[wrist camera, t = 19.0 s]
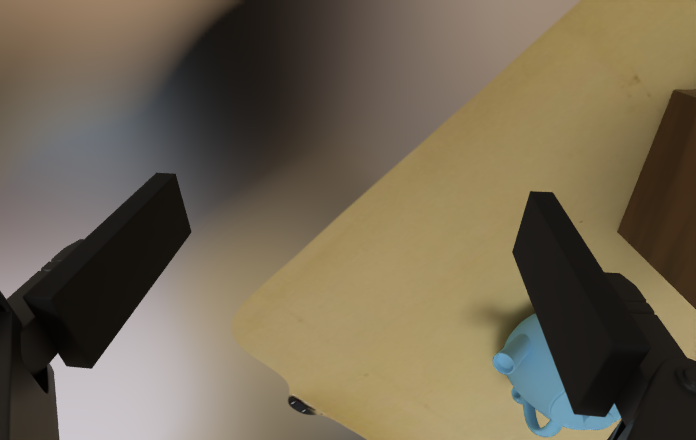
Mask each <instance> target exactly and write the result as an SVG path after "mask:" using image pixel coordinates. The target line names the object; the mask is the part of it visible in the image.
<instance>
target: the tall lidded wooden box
mask: <svg viewBox="0 0 696 440" xmlns="http://www.w3.org/2000/svg"><path fill="white" fill-rule="evenodd" d="M618 233H619V234H620V235H621V236H622V237H623V238H624V239H625V240H626V241H627V242H628V243H629V244H630V245H631V246H632V247H633V248H634V249H635V250H636V251H637V252H638V253H639V254H640V255H641V256H642V257H643V258H644V259H645V260H646V261H647V262H648V263H649V264H650V265H651V266H652V267H653V268H654V269H656V270H657V271H658V272H659V273H660V274H661V275H662V276H663V277H664V278H665V279H666V280H667V281H668V282H669V283H670V284H671V285H672V286H673V287H674V288H675V289H676V290H677V291H678V292H679V293H680V294H681V295H682V296H683V297H684V298H685V299H686V300H687V301H688V302H689V303H690V304H691V305H692V306H693V307H694V308H695V309H696V90H674V91H673V94H672V96H671V99H670V101H669V104H668V106H667V109H666V111H665V114H664V116H663V119H662V121H661V124H660V126H659V129H658V131H657V134H656V136H655V139H654V141H653V144H652V146H651V149H650V151H649V154H648V156H647V159H646V161H645V164H644V166H643V169H642V171H641V174H640V177H639V179H638V182H637V184H636V187H635V189H634V192H633V194H632V197H631V199H630V202H629V204H628V207H627V209H626V212H625V214H624V217H623V219H622V222H621V224H620V227H619V229H618Z"/></svg>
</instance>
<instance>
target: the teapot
mask: <svg viewBox="0 0 696 440" xmlns="http://www.w3.org/2000/svg"><path fill="white" fill-rule="evenodd" d="M493 365H494V367H495V368H496V369H497V371H499V372H500V373H502V374H506V375H507V377H508V378H509V380H510V382H511V383H512V385H513V386H514V387H513V389H512V397H513V399H514V400H515V401H516V402H517V403H519V404H523V409H524V416H525V420H526V423H527V425H528V427H529V429H530V430H531V431H532V432H533V433H535V434H536V435H538V436H541V437H551V436H554V435H556V434H557V433H558V432H559V431H560V430H561V428H562V426H563V427H566V428H570V429H576V430H589V429H591V430H600V429H604V428H607V427H609V426H610V425H611V424H612V423H614V422H616V421H617V420H619V419H621V416H620V414H619V412H618V410H617V408H616V406H615V404H614V405H613V407H612V408H611V410H610V411H609V413H608V414H607V416H606V417H596V416H586V415H575V414H574V413H573V411H572V408H571V405H570V403H569V400H568V397H567V395H566V392H565V389H564V387H563V384H562V382H561V379H560V376H559V374H558V371H557V368H556V366H555V363H554V361H553V358H552V355H551V353H550V350H549V347H548V345H547V342H546V339H545V337H544V334H543V332H542V329H541V326H540V324H539V321H538V318H537V316H536V313H535V314H533V315H531V316H529V317H527V318H526V319H525V320H523V321H522V322H521V323H520V324H519V325H518V326H517V327H516V328H515V329H514V330H513V332H512V333H511V334H510V336H509V337H508V339H507V341H506V343H505V345H504V348H503V349H501V350H500V351H499V352H498V353H497V354H496V355H495V356H494V357H493ZM535 409H536V410H538V411H539V412H540V413H542V414H543V415H544V416H546V417H547V418H548V419H550V421H549V422H548V424H547V425H546V426H544V427H543V428H540V427H539V424H538V422H537V418H536V412H535Z"/></svg>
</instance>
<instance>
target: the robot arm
mask: <svg viewBox="0 0 696 440" xmlns="http://www.w3.org/2000/svg"><path fill="white" fill-rule="evenodd" d="M190 233H191V229H190V225H189V221H188V218H187V214H186V210H185V207H184V203H183V199H182V196H181V192H180V188H179V185H178V181H177V177H176V174H169V173H156V174H155V175H154V176H153V177H152V178H150V179H149V180H148V181H147V182H146V183H145V184H144V185H143V186H142V187H141V188H140V189H139V190H137V191H136V192H135V193H134V194H133V195H132V196H131V197H130V198H129V199H128V200H127V201H125V202H124V203H123V204H122V205H121V206H120V207H119V208H118V209H117V210H116V211H115V212H114V213H112V214H111V215H110V216H109V217H108V218H107V219H106V220H105V221H104V222H103V223H102V224H101V225H99V226H98V227H97V228H96V229H95V230H94V231H93V232H92V233H91V234H90V235H89V236H87V237H86V238H85V239H80V240H78V241H76V242H75V243H73V244H71V245H69V246H67V247H66V248H64V249H63V250H61V251H60V252H59V253H58V254H57V255H56V256H55V257H54V258H53V259H52V260H51V262H48V263H47V264H46V265H45V266H44V267H42V268H41V271H38V272H37V273H36V274H35V275H34V276H32V277H31V278H30V279H29V280H28V281H27V282H26V283H25V284H23V285H22V286H21V287H20V288H19V289H18V290H17V291H16V292H14V293H13V294H12V295H11V296H10V297H9V298H8V299H7V300H6V298H5V297H4V295H3V294H2V293H1V291H0V440H59V430H58V418H57V406H56V393H55V381H54V371H53V369H52V367H51V365H50V364H49V363H50V362H51V360H52V359H53V358H54V357H55V356H56V355H57V353H58V354H59V355H60V357H61V358H62V360H63V361H64V363H65V365H66V366H70V367H80V368H90V369H91V368H93V366H94V365H95V363H96V362H97V361H98V359H99V358H100V357H101V355H102V354H103V353H104V351H105V350H106V348H107V347H108V346H109V344H110V343H111V342H112V340H113V339H114V338H115V336H116V335H117V333H118V332H119V331H120V329H121V328H122V326H123V325H124V324H125V322H126V321H127V320H128V318H129V317H130V316H131V314H132V313H133V312H134V310H135V309H136V307H137V306H138V305H139V303H140V302H141V300H142V299H143V298H144V297H145V295H146V294H147V292H148V291H149V290H150V288H151V287H152V285H153V284H154V283H155V281H156V280H157V279H158V277H159V276H160V275H161V273H162V272H163V271H164V269H165V268H166V266H167V265H168V264H169V262H170V261H171V260H172V258H173V257H174V256H175V254H176V253H177V251H178V250H179V249H180V247H181V246H182V245H183V243H184V242H185V240H186V239H187V238H188V236H189V235H190ZM512 253H513V255H514V258H515V261H516V263H517V266H518V268H519V271H520V274H521V276H522V279H523V282H524V284H525V287H526V289H527V292H528V295H529V297H530V300H531V303H532V305H533V308H534V311H535V313H536V316H537V318H538V321H539V324H540V326H541V329H542V332H543V334H544V337H545V339H546V342H547V345H548V347H549V350H550V353H551V355H552V358H553V361H554V363H555V366H556V368H557V371H558V374H559V376H560V379H561V382H562V384H563V387H564V389H565V392H566V395H567V397H568V400H569V403H570V405H571V408H572V411H573V413H574V414H575V415H586V416H596V417H606V416H607V414H608V413H609V411H610V410H611V408H612V407H613V405H614V404H615V406H616V408H617V410H618V412H619V414H620V416H621V418H622V420H621V421H620V422H619V424H618V425H617V427H616V428H615V430H614V431H613V432H612V434H611V435H610V437H609V438H608V439H607V440H696V361H694V360H692V359H689V358H687V357H686V356H685V354H684V353H683V351H682V350H681V349H680V347H679V346H678V344H677V343H676V342H675V340H674V339H673V337H672V336H671V335H670V333H669V332H668V330H667V329H666V327H665V326H664V325H663V323H662V322H661V320H660V319H659V318H658V316H657V315H655V314H654V311H653V309H652V308H651V306H650V305H649V304H648V303H646V299H645V298H644V297H643V295H642V294H641V292H640V291H639V289H638V288H637V287H636V286H635V285H634V284H633V283H631V282H630V281H629V280H628V279H626V278H625V277H624V276H623V275H621V274H620V273H606V272H603V270H602V268H601V267H600V265H599V264H598V262H597V261H596V259H595V258H594V256H593V254H592V253H591V251H590V250H589V248H588V247H587V245H586V243H585V242H584V240H583V239H582V237H581V236H580V234H579V233H578V231H577V229H576V228H575V226H574V225H573V223H572V222H571V220H570V219H569V217H568V215H567V214H566V212H565V211H564V209H563V208H562V206H561V204H560V203H559V201H558V200H557V198H556V197H555V195H554V194H553V192H533V191H530V194H529V198H528V201H527V204H526V208H525V211H524V214H523V218H522V221H521V225H520V228H519V231H518V235H517V238H516V242H515V245H514V248H513V252H512Z"/></svg>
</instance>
